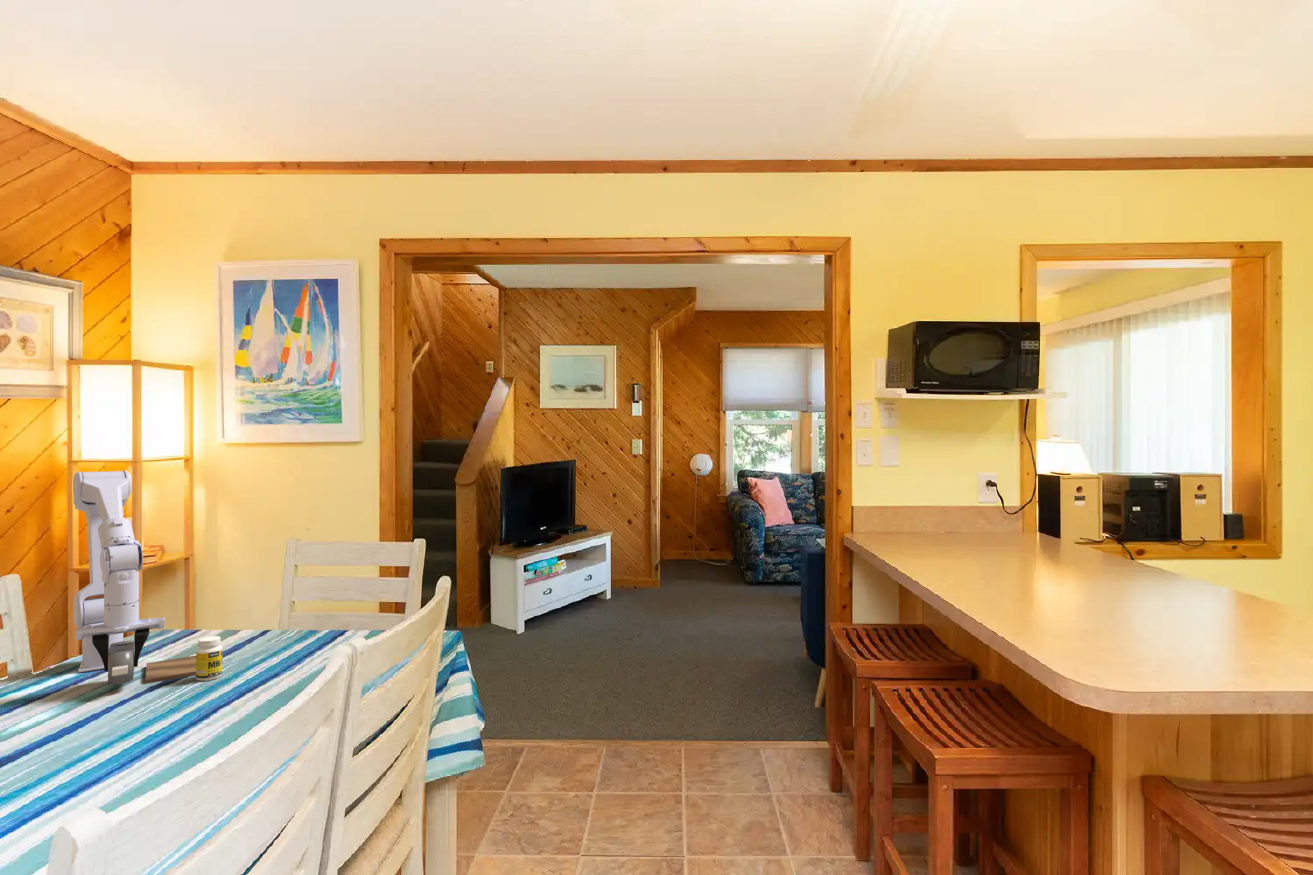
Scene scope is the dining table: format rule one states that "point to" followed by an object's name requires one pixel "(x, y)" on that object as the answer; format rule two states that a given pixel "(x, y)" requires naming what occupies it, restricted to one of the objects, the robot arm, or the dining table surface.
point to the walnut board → (170, 669)
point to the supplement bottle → (209, 658)
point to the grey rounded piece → (121, 662)
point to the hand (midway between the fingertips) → (121, 667)
